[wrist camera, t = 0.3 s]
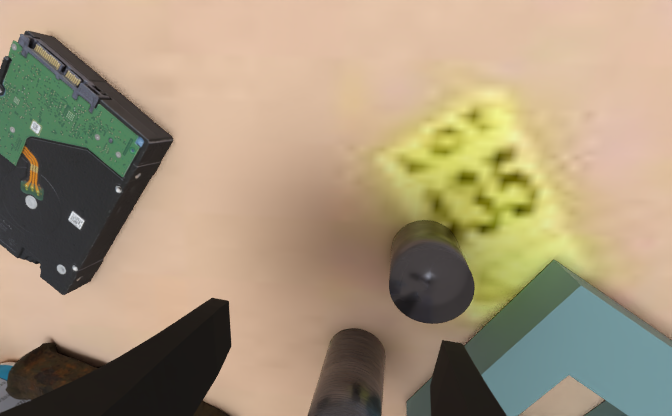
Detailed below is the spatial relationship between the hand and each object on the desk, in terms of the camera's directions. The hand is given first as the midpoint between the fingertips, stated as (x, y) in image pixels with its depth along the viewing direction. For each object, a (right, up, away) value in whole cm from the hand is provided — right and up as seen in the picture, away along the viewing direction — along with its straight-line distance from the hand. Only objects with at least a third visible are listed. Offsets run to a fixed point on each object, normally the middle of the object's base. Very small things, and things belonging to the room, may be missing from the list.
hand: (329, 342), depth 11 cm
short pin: (+6, +2, +9) cm, 11 cm away
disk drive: (-18, +7, +13) cm, 24 cm away
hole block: (+14, -7, +10) cm, 19 cm away
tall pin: (+2, -6, +12) cm, 14 cm away
